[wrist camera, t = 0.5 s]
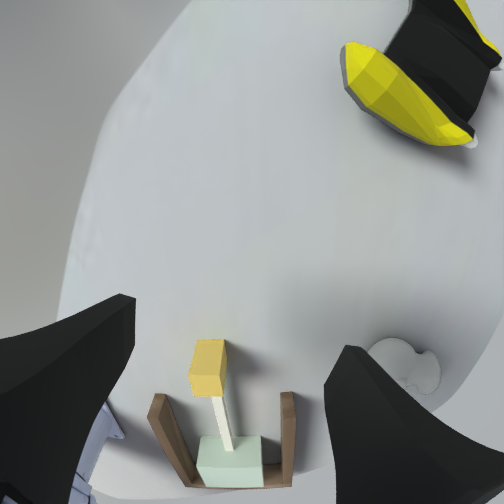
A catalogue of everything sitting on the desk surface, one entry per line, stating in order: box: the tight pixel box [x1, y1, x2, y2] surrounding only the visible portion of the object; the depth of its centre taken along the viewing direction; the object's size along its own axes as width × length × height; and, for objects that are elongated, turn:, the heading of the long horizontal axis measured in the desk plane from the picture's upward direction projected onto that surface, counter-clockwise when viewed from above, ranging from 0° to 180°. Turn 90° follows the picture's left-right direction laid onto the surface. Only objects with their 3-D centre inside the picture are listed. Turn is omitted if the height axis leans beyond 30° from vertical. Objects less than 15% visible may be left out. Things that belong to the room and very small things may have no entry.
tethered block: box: [188, 339, 264, 488], centre depth 21 cm, size 6×18×4 cm, turn 4°
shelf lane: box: [147, 392, 296, 489], centre depth 23 cm, size 12×14×3 cm
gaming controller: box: [340, 0, 504, 149], centre depth 12 cm, size 15×6×10 cm
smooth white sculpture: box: [367, 338, 441, 394], centre depth 20 cm, size 4×8×5 cm
